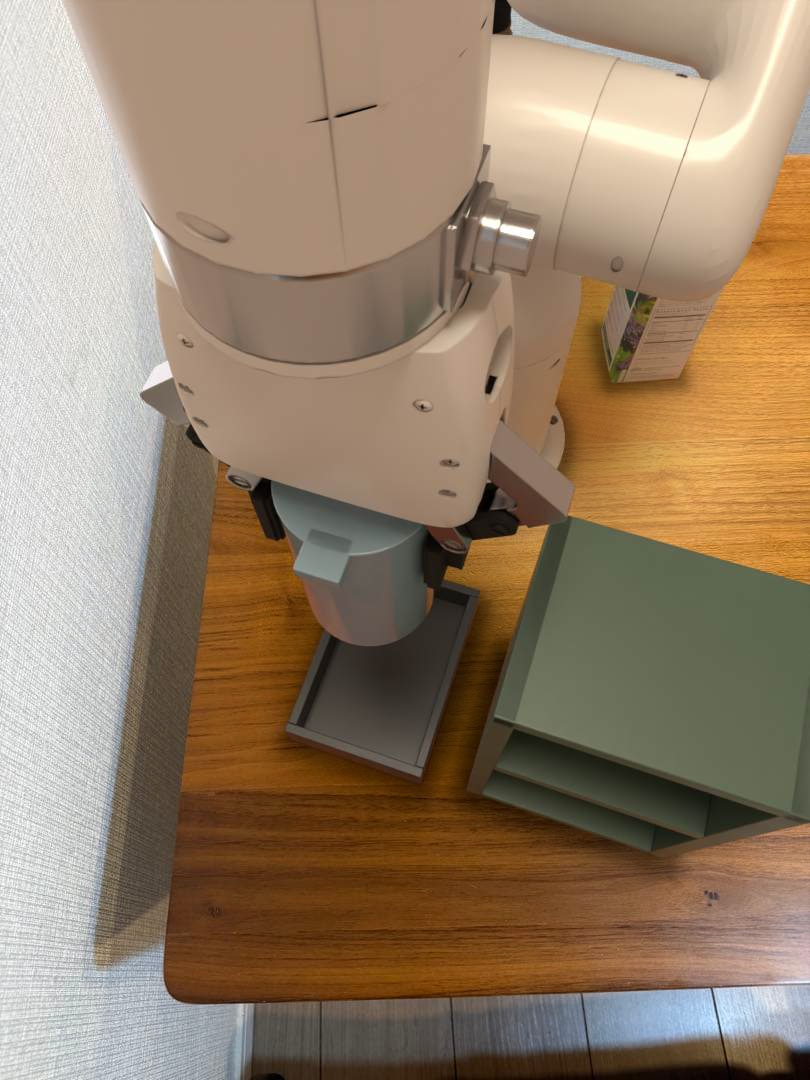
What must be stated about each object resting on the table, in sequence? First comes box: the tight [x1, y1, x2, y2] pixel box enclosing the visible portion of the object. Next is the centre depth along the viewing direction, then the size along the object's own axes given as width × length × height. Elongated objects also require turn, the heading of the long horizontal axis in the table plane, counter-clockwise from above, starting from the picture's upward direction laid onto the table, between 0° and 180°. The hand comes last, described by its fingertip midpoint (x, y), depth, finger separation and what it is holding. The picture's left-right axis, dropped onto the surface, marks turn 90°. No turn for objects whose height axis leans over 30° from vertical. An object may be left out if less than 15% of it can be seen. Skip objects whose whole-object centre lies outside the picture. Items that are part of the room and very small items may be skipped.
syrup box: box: [600, 217, 725, 384], centre depth 62 cm, size 6×6×14 cm
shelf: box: [465, 514, 810, 859], centre depth 45 cm, size 10×13×22 cm
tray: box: [284, 578, 482, 786], centre depth 56 cm, size 13×9×3 cm
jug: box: [271, 480, 435, 646], centre depth 36 cm, size 10×6×11 cm, turn 161°
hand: (363, 532), depth 35 cm, fingers closed on jug, 6 cm apart
